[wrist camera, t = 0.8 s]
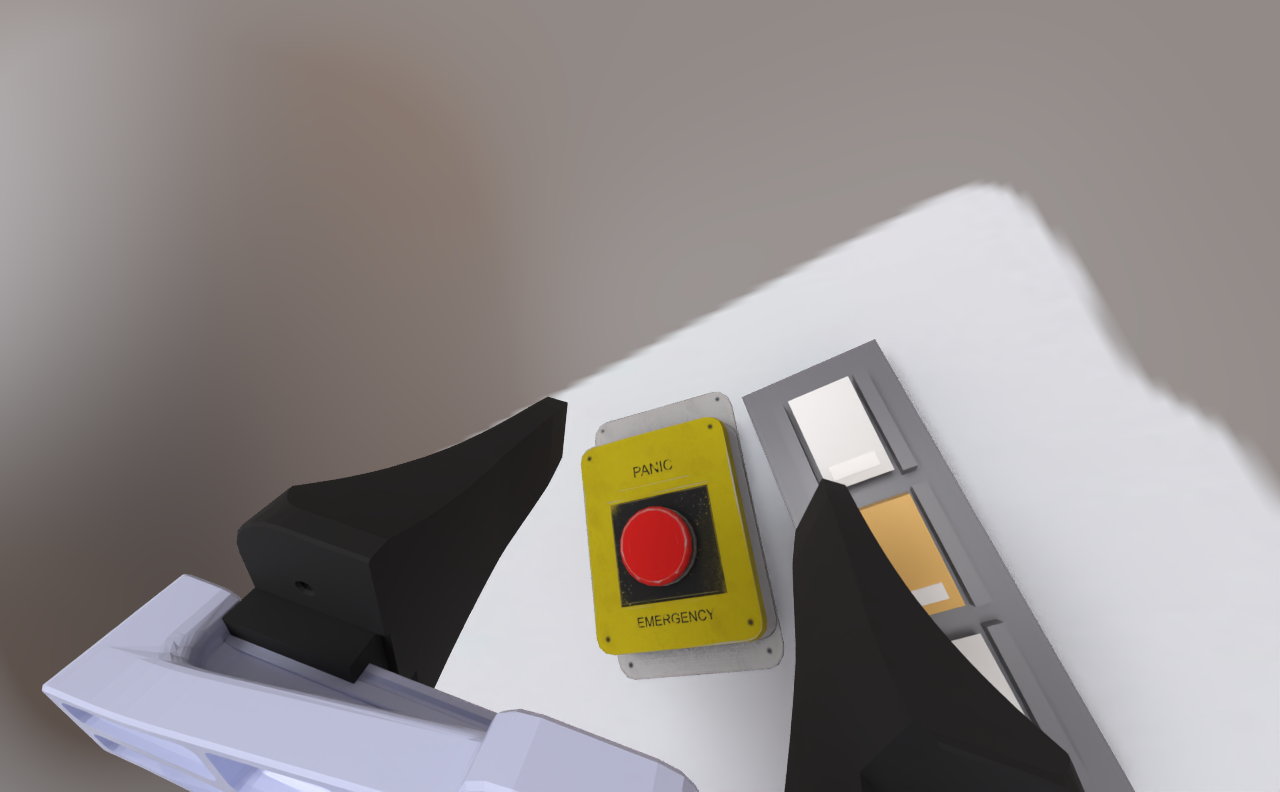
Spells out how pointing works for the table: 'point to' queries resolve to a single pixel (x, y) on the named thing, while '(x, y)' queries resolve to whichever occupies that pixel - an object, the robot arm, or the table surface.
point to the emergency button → (677, 545)
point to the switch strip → (939, 545)
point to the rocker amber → (912, 552)
